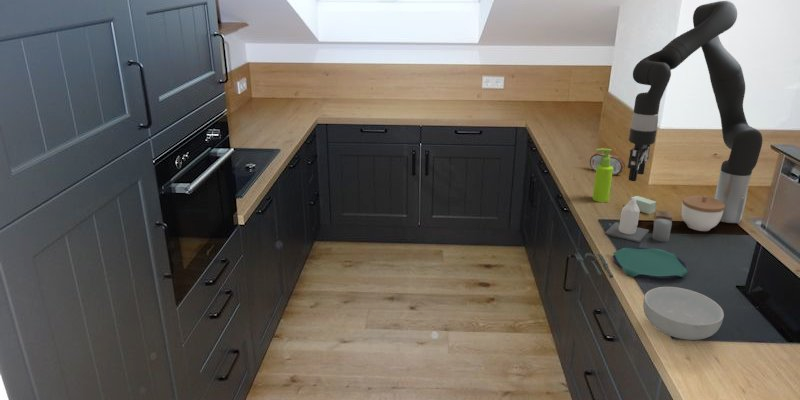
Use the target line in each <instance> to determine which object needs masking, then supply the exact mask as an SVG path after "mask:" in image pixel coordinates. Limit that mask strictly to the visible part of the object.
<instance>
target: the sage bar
mask: <svg viewBox="0 0 800 400" xmlns="http://www.w3.org/2000/svg"><path fill="white" fill-rule="evenodd" d="M633 198H636V204H637V205H638V208H639V210H640V212H642V213H644V214H647V215H650V214H653V213H655V212H656V208H657V203H658V201H655V200H652V199H648V198H646V197H644V196H643V197H642V196H640V195H635V196H634V195H633V196H631V197H630V198H629V201H631V199H633Z"/></svg>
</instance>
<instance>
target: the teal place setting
mask: <svg viewBox="0 0 800 400" xmlns="http://www.w3.org/2000/svg"><path fill="white" fill-rule="evenodd" d="M612 254H613V255H612V258H613V262H614V263H615V264H616V266H617V267H618V268H620V269H622V270H623V273H625V275H626V276H628V277H630V278H634V277H636V276H639V277H643V278H647V279H655V280H656V279H657V280H666V279H667V280H669V279H674V278H678V277H679V278H683V277H684V276H686V275H687V274H688V268H687V267H688V266H687V265H686V262H684V261H683V260H682V259H681V258H679V257H677V256H676V254H674V253H672V252H669V251H666V250H663V249H659V248H647V247H622V248H620V249H618V250H616V251H614V252H613V253H612ZM574 255H575V258H576V261H577V262H579V264H580V265H581V268H582V269H583V272H584V274H585V275H586V277H589V276H590V273H589V271H588V269H587V267H586V266H585V263H584V261H585V259H586V260H587V261H588V262H590V263H592V265H593V267H594V269H595V271H596V273H597V275H598V277H602V275H603V274H602V271H600V269H599V267H598V266H597V265H596V263H595V262H596V261H597V259H598V258H597V256H596V255H595V254H593V253H590V252H587V253H585V254H584V257H582V255H581V254H580V253H575V254H574ZM597 255H598V256H599V258H600V260H601V262H602V265H603V267H604V269H606V270H607V272H608V274H609V277H610V278H613V276H614V275H612V273H611V270H610V268H609V265H608V263H607V262H606V259H605V257H604V256H603V255H602V254H601V253H598V254H597ZM588 256H591V257H593V258H594V259H595V260H590V259H588V258H587V257H588ZM584 258H585V259H584Z"/></svg>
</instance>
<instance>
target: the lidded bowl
mask: <svg viewBox="0 0 800 400" xmlns="http://www.w3.org/2000/svg"><path fill="white" fill-rule="evenodd" d="M724 208H725V204H724V203H723V202H721V201H719V200H717V199H715V197H714V198H713V197H709V196H706V195H688V196H685V197H684V198H683V199H682V205H681V217H682V220H683V222H684V223H685V224H686V227H688V228H689V229H690V230H691V229H692V230H694V231H699V232H709V231H711V229H713V228H716V226H717V225H718V224H719V223H720V222H721V221H720V220H721V218H722V215H723V211H724Z"/></svg>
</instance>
